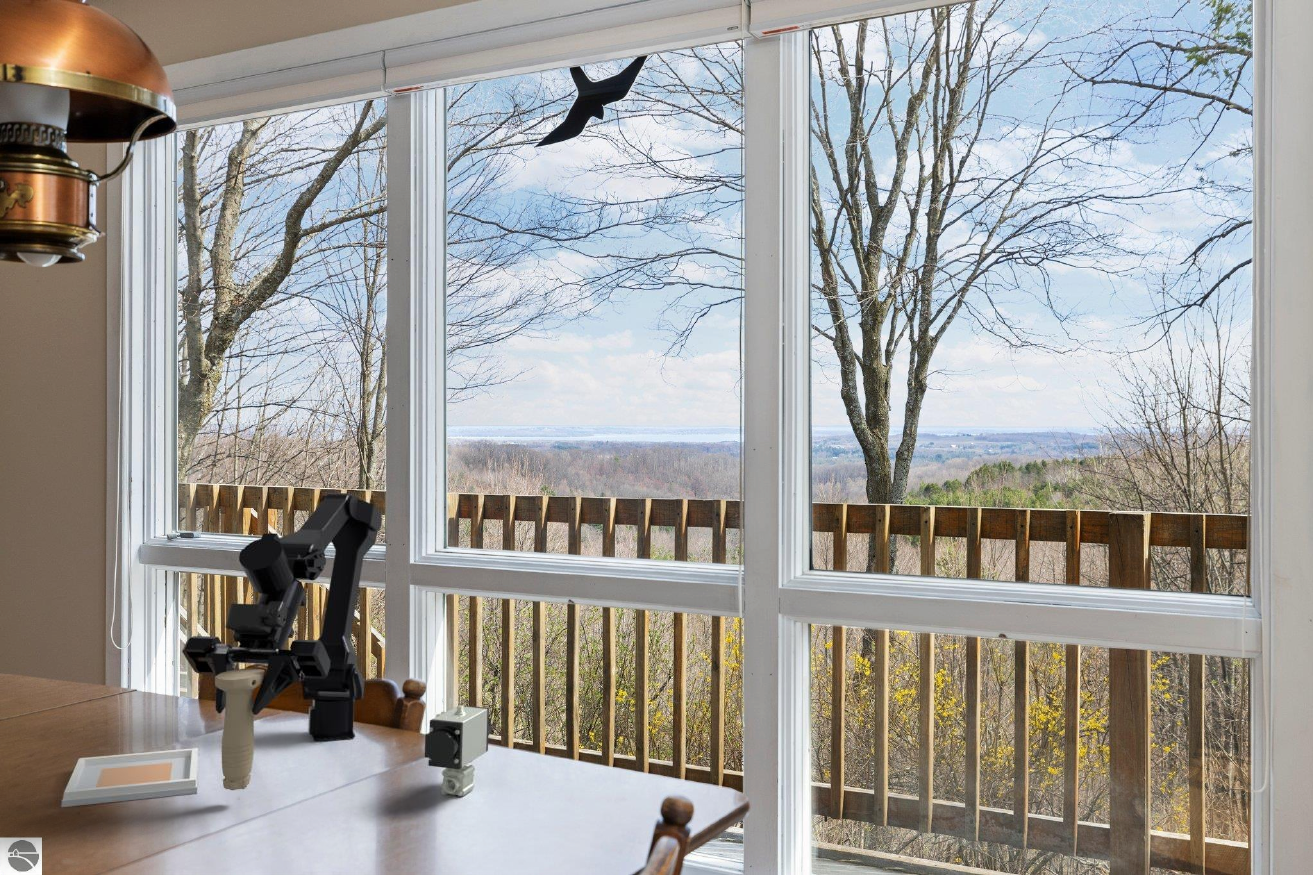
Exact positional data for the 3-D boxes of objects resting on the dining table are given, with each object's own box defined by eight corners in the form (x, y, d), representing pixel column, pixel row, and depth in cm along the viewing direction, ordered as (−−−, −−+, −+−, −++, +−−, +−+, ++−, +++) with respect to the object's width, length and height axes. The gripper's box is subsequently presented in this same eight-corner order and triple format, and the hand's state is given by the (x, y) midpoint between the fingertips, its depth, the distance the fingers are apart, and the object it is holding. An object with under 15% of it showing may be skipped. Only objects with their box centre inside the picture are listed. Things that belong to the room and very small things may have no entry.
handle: (203, 791, 130) (207, 676, 130) (241, 776, 135) (245, 666, 135) (230, 798, 128) (234, 681, 128) (268, 782, 134) (272, 671, 133)
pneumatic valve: (491, 781, 144) (493, 697, 144) (453, 808, 133) (456, 717, 133) (456, 776, 145) (458, 694, 146) (416, 803, 134) (419, 713, 134)
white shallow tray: (199, 759, 150) (199, 747, 150) (196, 793, 136) (197, 779, 136) (77, 770, 144) (77, 757, 144) (61, 807, 129) (62, 793, 129)
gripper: (191, 577, 136) (143, 676, 125) (324, 581, 135) (288, 681, 124) (217, 624, 144) (175, 721, 133) (344, 628, 143) (311, 727, 132)
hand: (236, 712), depth 130 cm, fingers closed on handle, 4 cm apart
